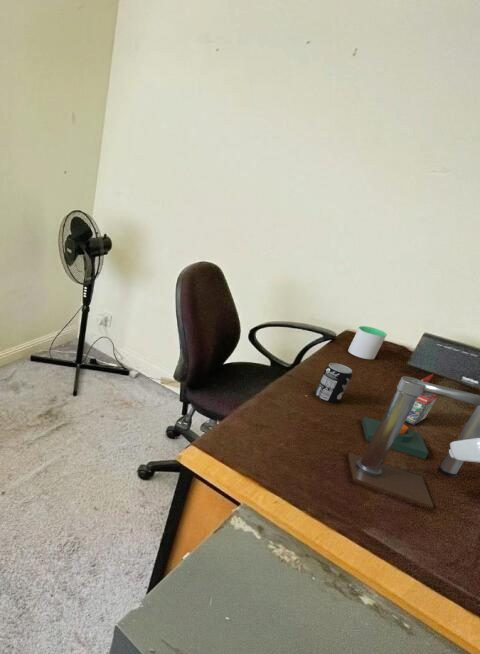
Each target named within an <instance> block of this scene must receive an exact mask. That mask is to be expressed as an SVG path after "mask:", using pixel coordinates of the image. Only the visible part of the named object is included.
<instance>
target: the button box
mask: <svg viewBox="0 0 480 654" xmlns="http://www.w3.org/2000/svg"><path fill="white" fill-rule="evenodd" d="M380 422H381V420H377V419H374V418H370V417H367V416H364V417H362V420H361V424H362V428H363V433H364V436H365V440H366V441H368V442H369V443H370V442H371V440H372V438H373V436H374V434H375V432H376V430H377V428H378V426H379V424H380ZM390 450H394V451H398V452H401V453H404V454H407V455H410V456H412V457H416V458H420V459H423V460H426V458H427V457H428V455H429V451H428V449H427V446H426V444H425V441H424V439H423V436H422V435H421V433H420V432H419V431H415V430H412V429H410V428H408V430H407V431H406V433H405V434H401V433H399V434H398V436H397V438H396V439H395V441H394V443H393V445H392V447H391V449H390Z"/></svg>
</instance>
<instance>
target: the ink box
mask: <svg viewBox="0 0 480 654" xmlns="http://www.w3.org/2000/svg"><path fill="white" fill-rule="evenodd" d="M433 376H434V373H432V374H430V375H428V376H425V377H424V378H422V379H420V380H421V381H423V382H426V383H430V381H431V380H432V378H433ZM438 397H439V395H435V394H431V393H427V392H422V394H421V395H420V396H419V397H418V398H417V400H416V402H415V404H414V406H413V408H412V410H411V411H410V413H409V415H408V417H407V419H406V421H405V422H407V423H408V424H411V425H413V426H414V425H416V424H418V423H420V422H421V421H423V420H424V419H426V418H427V416H428V414H429V413H430V411H431V409H432V407H433V406H434V405H435V402H436V401H437V398H438Z"/></svg>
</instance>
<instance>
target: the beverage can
mask: <svg viewBox="0 0 480 654" xmlns="http://www.w3.org/2000/svg"><path fill="white" fill-rule="evenodd" d="M352 373H353V370H352V369H351V368H350V367H348V366H346V365H345V364H341V363H337V362H330V363H328V365H327V366H325V368H324V370H323V372H322V375H321V377H320V379H319V381H318V383H317V386H316V387H315V390H314V395H315V396H316V397H317V398H318V399H320V400H321V401H324V402H327V403H329V404H337V403H340V401H341V400H342V397H343V395H344V393H345V391H346V389H347V387H348V385H349V383H350V381H351V380H352V377H353V374H352Z"/></svg>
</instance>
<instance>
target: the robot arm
mask: <svg viewBox="0 0 480 654" xmlns="http://www.w3.org/2000/svg"><path fill="white" fill-rule="evenodd" d="M449 447H450V449H448V453H450V456H451V457H452V458H455V459H456V460H459V461H464V462H467V463H476V464H477V463H478V464H480V437H479V438H474V439H466V440H459V441H456V440H454V441H451V442H450V443H449Z"/></svg>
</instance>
